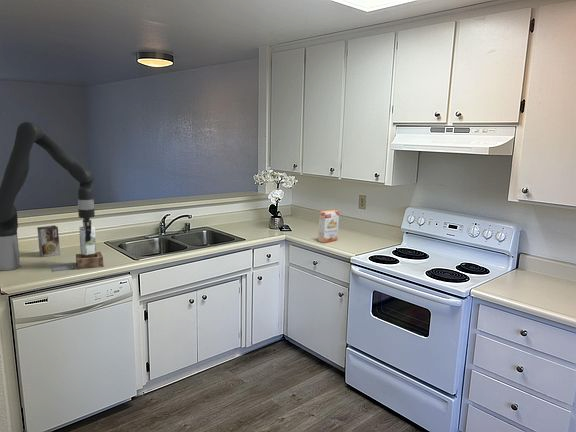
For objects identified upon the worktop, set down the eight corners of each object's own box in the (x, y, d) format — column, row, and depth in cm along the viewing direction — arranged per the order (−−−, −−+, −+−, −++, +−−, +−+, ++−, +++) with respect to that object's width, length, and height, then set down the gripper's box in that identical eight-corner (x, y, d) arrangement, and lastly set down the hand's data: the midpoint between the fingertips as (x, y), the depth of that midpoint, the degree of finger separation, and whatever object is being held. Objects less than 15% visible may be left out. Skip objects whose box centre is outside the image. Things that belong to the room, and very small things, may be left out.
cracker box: (324, 243, 278) (325, 212, 275) (317, 241, 283) (319, 211, 279) (338, 240, 287) (339, 210, 284) (331, 238, 292) (333, 209, 288)
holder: (77, 269, 210) (77, 260, 210) (76, 263, 221) (75, 254, 220) (103, 266, 216) (102, 257, 216) (100, 260, 227) (100, 251, 226)
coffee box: (57, 252, 241) (54, 225, 238) (60, 254, 236) (58, 226, 233) (39, 254, 234) (36, 227, 231) (42, 257, 230) (40, 228, 227)
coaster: (52, 271, 206) (52, 270, 206) (52, 266, 214) (52, 265, 214) (73, 269, 211) (73, 268, 211) (72, 264, 218) (72, 263, 218)
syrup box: (91, 251, 221) (89, 225, 219) (96, 253, 218) (95, 226, 215) (80, 253, 217) (78, 226, 215) (85, 255, 213) (84, 228, 211)
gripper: (77, 206, 217) (78, 237, 220) (79, 210, 205) (80, 243, 208) (92, 205, 221) (94, 235, 224) (95, 209, 209) (97, 241, 212)
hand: (87, 239), depth 216 cm, fingers closed on syrup box, 7 cm apart
